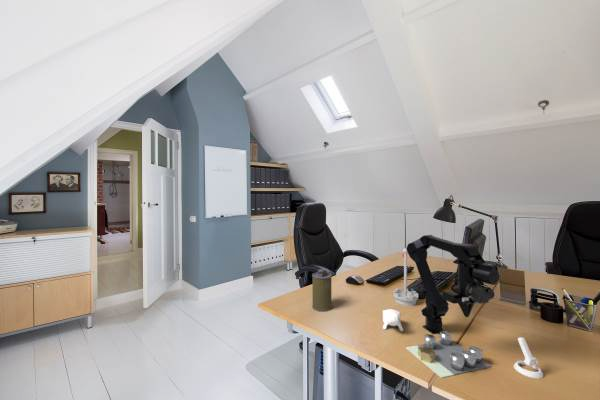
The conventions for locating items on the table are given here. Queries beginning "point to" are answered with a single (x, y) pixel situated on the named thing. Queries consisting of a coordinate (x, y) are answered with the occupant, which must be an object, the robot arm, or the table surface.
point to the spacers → (457, 360)
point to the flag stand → (405, 288)
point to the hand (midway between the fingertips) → (466, 316)
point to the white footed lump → (391, 318)
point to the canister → (322, 290)
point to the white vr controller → (527, 361)
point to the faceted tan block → (426, 354)
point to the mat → (445, 359)
